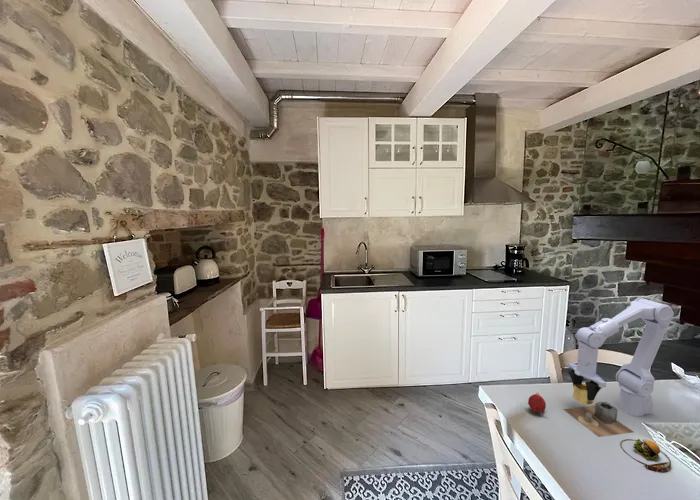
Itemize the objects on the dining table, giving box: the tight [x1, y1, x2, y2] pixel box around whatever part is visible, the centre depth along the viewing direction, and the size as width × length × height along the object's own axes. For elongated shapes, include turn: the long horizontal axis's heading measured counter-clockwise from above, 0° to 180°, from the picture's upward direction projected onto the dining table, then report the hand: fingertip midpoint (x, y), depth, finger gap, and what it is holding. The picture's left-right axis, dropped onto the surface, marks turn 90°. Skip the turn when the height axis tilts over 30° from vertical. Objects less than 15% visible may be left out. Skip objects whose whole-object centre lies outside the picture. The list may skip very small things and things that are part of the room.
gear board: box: [562, 405, 634, 438], centre depth 115 cm, size 14×15×4 cm
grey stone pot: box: [594, 401, 618, 424], centre depth 115 cm, size 5×5×5 cm
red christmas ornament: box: [527, 392, 547, 414], centre depth 121 cm, size 6×6×8 cm
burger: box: [620, 438, 672, 473], centre depth 99 cm, size 12×12×8 cm
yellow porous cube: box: [572, 382, 595, 405], centre depth 118 cm, size 5×5×5 cm
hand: (583, 395), depth 118 cm, fingers closed on yellow porous cube, 5 cm apart
